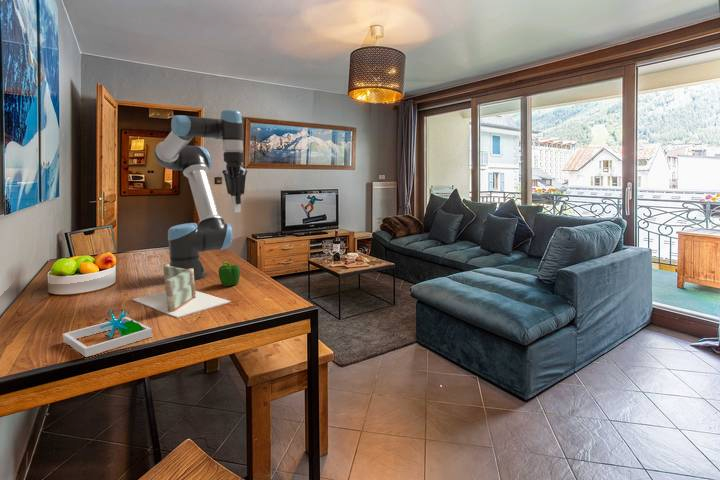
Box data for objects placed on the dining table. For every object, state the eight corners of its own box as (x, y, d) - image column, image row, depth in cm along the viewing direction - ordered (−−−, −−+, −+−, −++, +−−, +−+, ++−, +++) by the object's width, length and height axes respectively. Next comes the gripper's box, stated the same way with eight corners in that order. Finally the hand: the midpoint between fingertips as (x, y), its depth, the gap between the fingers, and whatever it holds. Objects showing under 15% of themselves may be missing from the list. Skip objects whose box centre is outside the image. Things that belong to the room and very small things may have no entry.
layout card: (132, 300, 138) (132, 298, 138) (183, 287, 153) (183, 286, 153) (177, 318, 119) (177, 316, 119) (230, 302, 134) (230, 300, 134)
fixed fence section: (197, 297, 139) (194, 268, 137) (191, 298, 137) (189, 270, 136) (169, 290, 148) (167, 263, 146) (164, 292, 146) (161, 264, 144)
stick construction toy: (92, 331, 104) (109, 304, 107) (108, 336, 110) (124, 311, 113) (129, 346, 102) (146, 319, 105) (143, 351, 108) (159, 325, 111)
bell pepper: (236, 281, 163) (235, 257, 161) (243, 285, 156) (242, 261, 154) (216, 284, 158) (214, 260, 156) (222, 288, 151) (220, 263, 150)
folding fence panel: (187, 297, 137) (185, 270, 136) (193, 297, 137) (190, 270, 136) (166, 311, 123) (163, 280, 122) (172, 311, 123) (170, 280, 122)
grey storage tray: (63, 342, 102) (62, 333, 101) (127, 324, 114) (126, 316, 114) (86, 358, 92) (84, 348, 92) (152, 337, 105) (151, 328, 104)
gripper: (251, 151, 150) (255, 212, 153) (231, 153, 157) (235, 210, 161) (235, 150, 144) (239, 213, 147) (215, 152, 151) (219, 212, 155)
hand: (236, 212), depth 154 cm, fingers closed
